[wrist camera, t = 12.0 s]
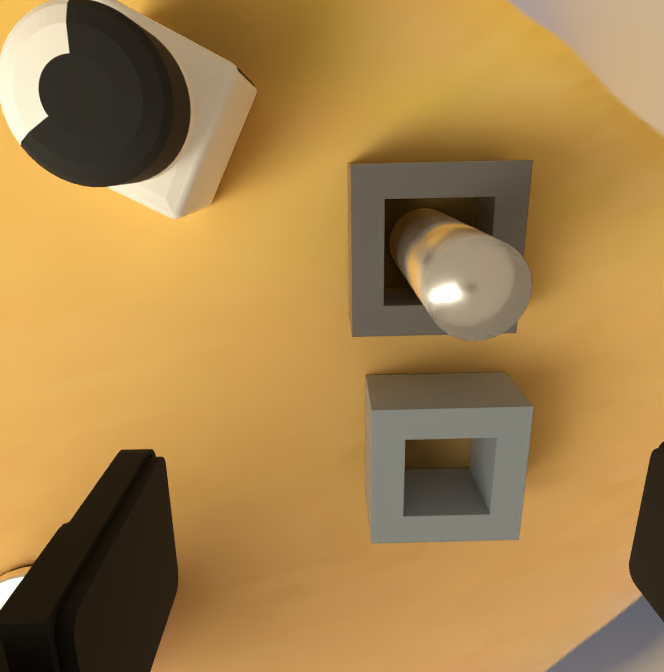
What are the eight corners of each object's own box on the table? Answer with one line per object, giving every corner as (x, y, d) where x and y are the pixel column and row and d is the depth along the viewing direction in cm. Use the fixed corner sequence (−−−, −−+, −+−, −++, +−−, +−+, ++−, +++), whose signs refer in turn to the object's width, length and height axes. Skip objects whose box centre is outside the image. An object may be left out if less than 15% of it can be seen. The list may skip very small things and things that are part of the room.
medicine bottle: (260, 87, 28) (216, 41, 17) (210, 208, 31) (141, 238, 19) (134, 20, 27) (-2, -77, 16) (91, 150, 29) (-56, 146, 18)
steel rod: (455, 274, 32) (526, 339, 21) (389, 276, 32) (423, 342, 21) (458, 207, 31) (536, 236, 19) (389, 208, 31) (427, 238, 19)
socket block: (494, 490, 37) (518, 539, 32) (365, 493, 37) (371, 543, 32) (504, 371, 34) (533, 406, 29) (365, 375, 34) (371, 410, 29)
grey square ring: (494, 312, 33) (516, 333, 29) (349, 316, 33) (352, 336, 29) (506, 159, 30) (532, 160, 26) (347, 163, 30) (350, 164, 26)
